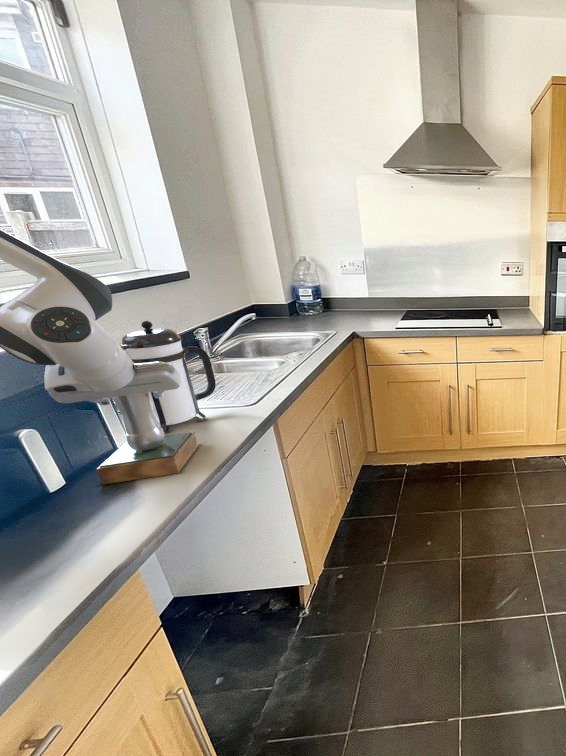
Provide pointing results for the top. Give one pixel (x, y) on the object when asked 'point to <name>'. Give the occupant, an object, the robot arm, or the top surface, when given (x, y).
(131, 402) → the plastic bottle
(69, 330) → the robot arm
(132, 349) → the coffee press
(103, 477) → the riser
